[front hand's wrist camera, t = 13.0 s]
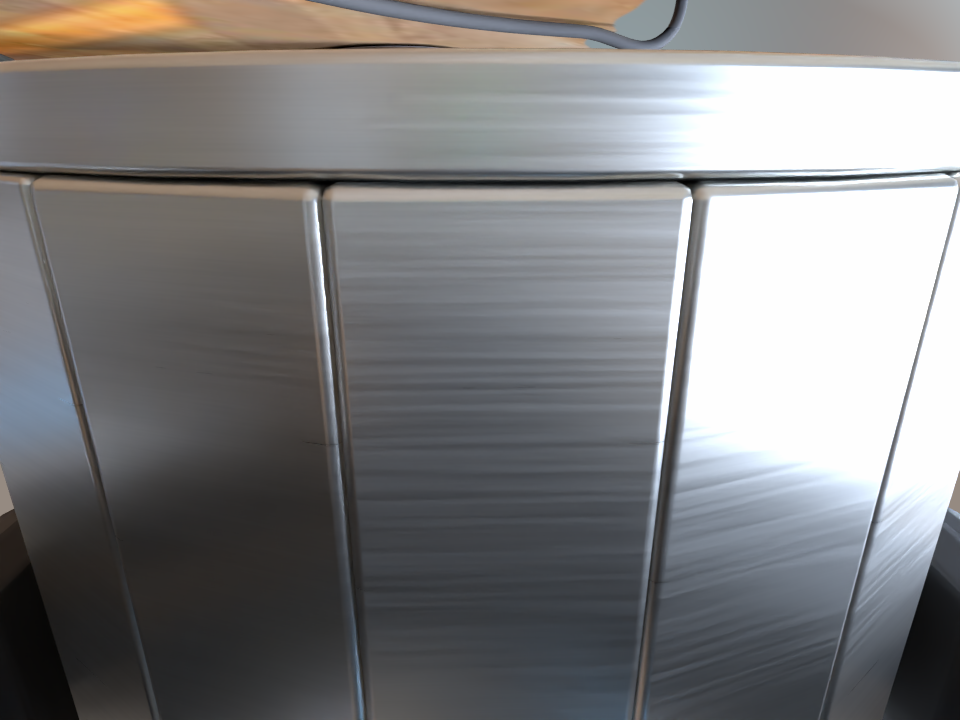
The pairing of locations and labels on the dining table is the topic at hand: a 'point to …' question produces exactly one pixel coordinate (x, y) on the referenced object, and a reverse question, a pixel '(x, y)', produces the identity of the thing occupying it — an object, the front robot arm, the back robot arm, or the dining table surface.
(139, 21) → the dining table surface
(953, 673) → the front robot arm
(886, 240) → the tub
